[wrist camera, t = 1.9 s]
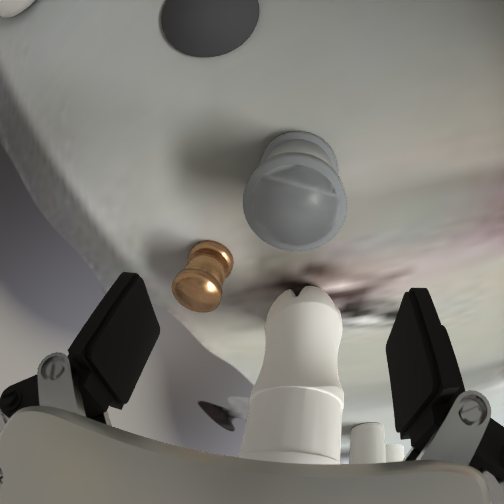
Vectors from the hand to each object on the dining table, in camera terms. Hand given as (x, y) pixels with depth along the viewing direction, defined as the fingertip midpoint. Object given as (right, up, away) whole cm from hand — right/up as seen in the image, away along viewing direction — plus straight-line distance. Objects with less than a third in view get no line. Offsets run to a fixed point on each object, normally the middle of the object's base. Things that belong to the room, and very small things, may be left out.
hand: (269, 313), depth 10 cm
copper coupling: (-4, +1, +18) cm, 19 cm away
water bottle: (+5, -3, +20) cm, 20 cm away
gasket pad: (-4, +19, +6) cm, 20 cm away
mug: (+21, -31, +35) cm, 52 cm away
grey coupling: (+3, +8, +12) cm, 15 cm away
